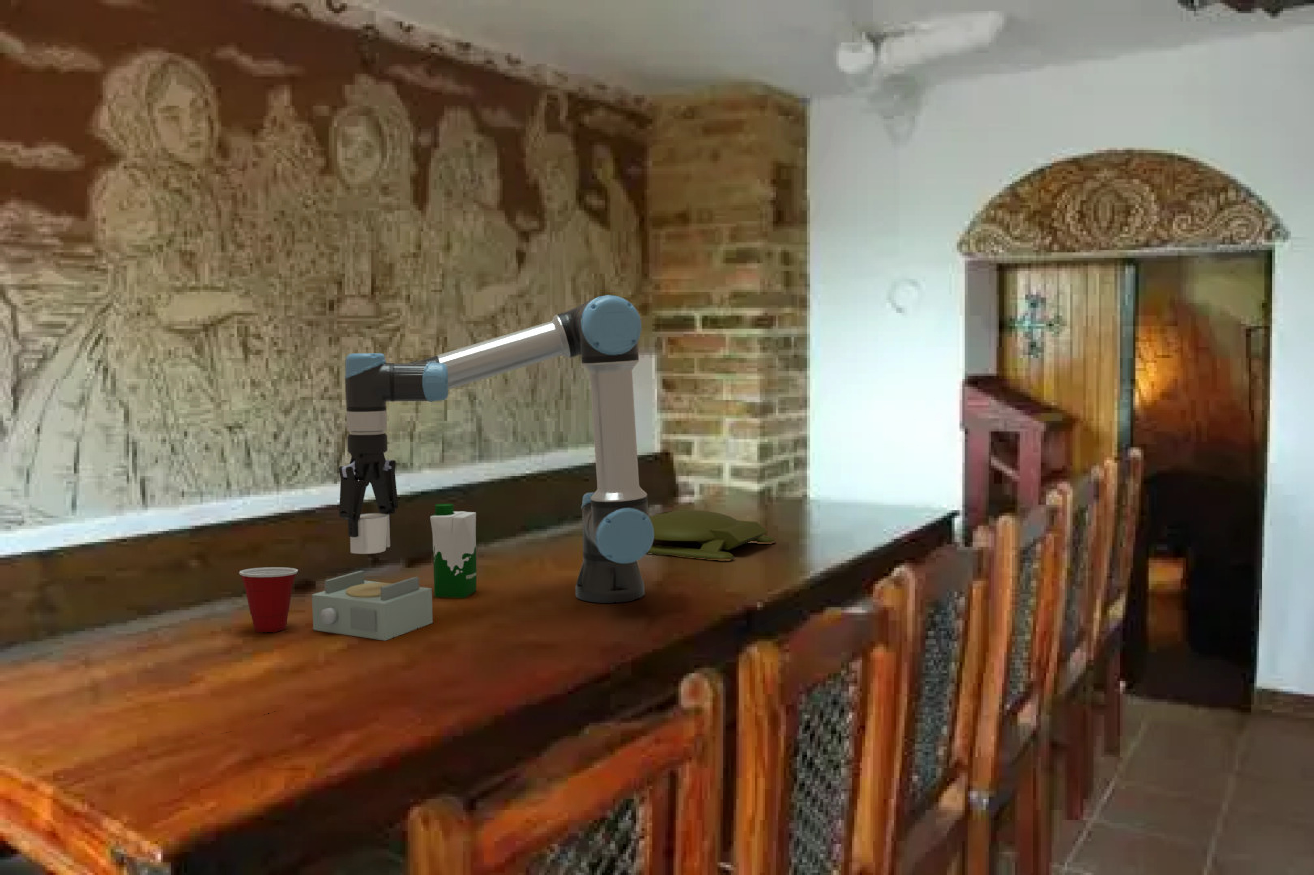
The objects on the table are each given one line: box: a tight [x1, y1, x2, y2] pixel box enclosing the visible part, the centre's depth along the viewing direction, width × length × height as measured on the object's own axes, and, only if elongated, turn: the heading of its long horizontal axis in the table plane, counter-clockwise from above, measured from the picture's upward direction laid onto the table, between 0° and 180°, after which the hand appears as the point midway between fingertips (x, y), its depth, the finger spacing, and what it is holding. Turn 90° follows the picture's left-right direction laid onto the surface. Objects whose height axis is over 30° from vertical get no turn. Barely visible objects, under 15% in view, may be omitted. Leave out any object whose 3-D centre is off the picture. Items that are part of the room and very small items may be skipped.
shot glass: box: [359, 512, 388, 555], centre depth 208 cm, size 7×7×7 cm
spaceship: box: [647, 509, 776, 560], centre depth 289 cm, size 35×31×10 cm
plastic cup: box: [238, 566, 299, 633], centre depth 208 cm, size 11×11×12 cm
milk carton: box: [429, 502, 478, 599], centre depth 236 cm, size 9×9×20 cm
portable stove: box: [311, 570, 433, 641], centre depth 209 cm, size 18×16×10 cm
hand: (370, 549), depth 208 cm, fingers closed on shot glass, 7 cm apart
